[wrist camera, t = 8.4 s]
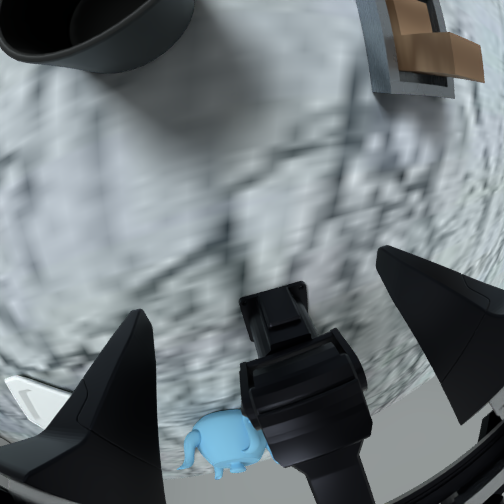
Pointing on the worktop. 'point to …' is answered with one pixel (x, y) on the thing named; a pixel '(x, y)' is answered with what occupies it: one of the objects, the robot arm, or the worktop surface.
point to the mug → (92, 31)
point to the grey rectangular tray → (385, 57)
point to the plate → (37, 399)
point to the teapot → (225, 442)
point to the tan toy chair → (431, 45)
